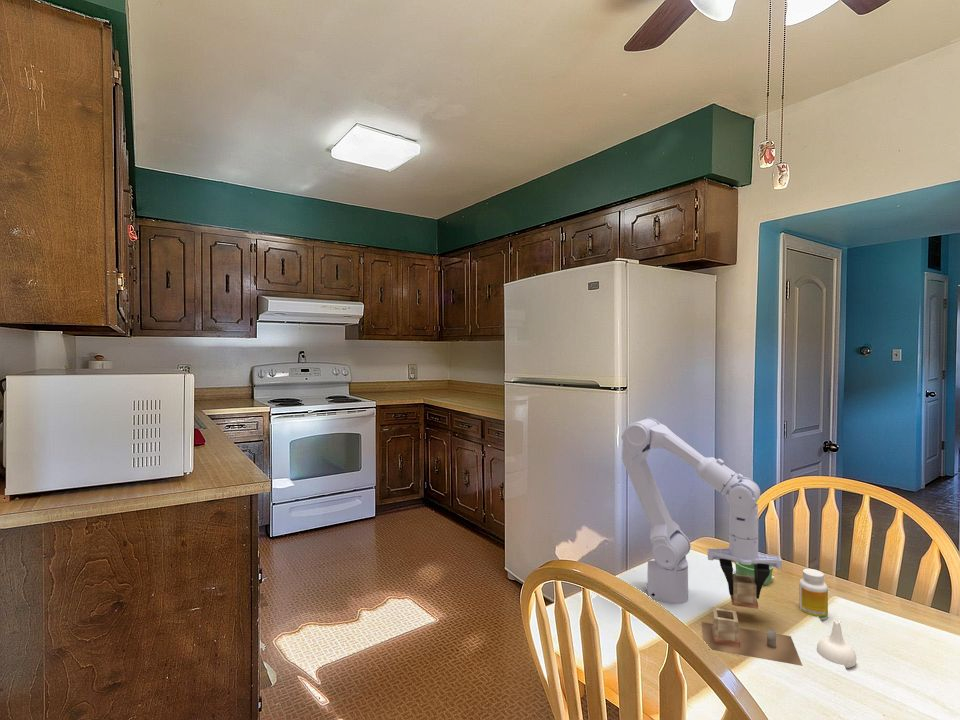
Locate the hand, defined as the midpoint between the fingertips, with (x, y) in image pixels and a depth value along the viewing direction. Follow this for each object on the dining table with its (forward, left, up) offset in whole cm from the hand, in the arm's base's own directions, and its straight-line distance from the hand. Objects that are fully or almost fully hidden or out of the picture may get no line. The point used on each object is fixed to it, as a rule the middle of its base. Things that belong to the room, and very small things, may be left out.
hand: (743, 594), depth 112 cm
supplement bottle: (+15, +8, -6) cm, 18 cm away
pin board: (0, -10, -6) cm, 12 cm away
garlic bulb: (+15, -9, -6) cm, 19 cm away
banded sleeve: (0, 0, -2) cm, 2 cm away
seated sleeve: (-5, -10, -5) cm, 12 cm away
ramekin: (+5, +23, -6) cm, 24 cm away
